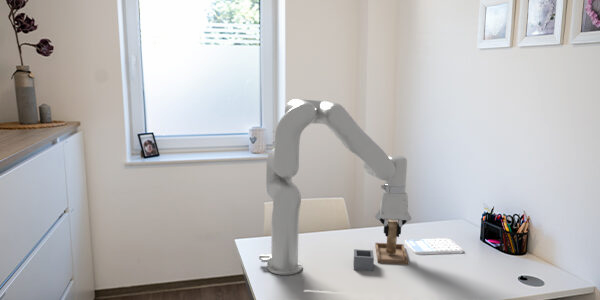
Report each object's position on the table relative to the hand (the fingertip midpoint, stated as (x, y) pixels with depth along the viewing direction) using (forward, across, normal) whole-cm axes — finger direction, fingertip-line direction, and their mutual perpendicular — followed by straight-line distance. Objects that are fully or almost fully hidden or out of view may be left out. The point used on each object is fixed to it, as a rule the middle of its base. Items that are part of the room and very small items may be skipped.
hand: (392, 235), depth 176 cm
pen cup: (+9, -11, -12) cm, 18 cm away
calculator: (+9, +18, +12) cm, 24 cm away
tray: (+9, 0, 0) cm, 9 cm away
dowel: (+7, 0, 0) cm, 7 cm away
